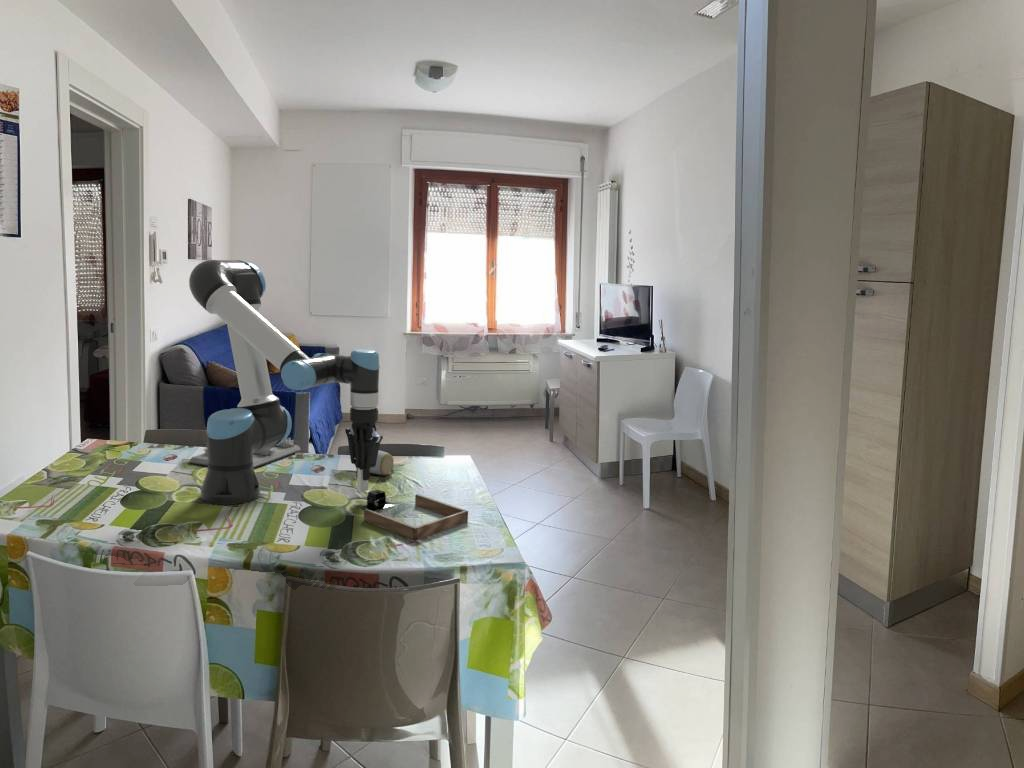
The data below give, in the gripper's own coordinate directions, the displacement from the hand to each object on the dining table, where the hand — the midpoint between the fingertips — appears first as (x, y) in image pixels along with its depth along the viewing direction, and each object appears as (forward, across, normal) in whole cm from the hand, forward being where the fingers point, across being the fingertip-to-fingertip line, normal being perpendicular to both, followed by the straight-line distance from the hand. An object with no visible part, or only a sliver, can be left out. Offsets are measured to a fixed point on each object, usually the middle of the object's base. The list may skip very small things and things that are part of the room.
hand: (362, 490), depth 205 cm
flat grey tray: (+4, +59, -2) cm, 59 cm away
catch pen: (+3, -21, 0) cm, 21 cm away
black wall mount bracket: (+4, -5, 0) cm, 7 cm away
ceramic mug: (+3, +18, -22) cm, 29 cm away
